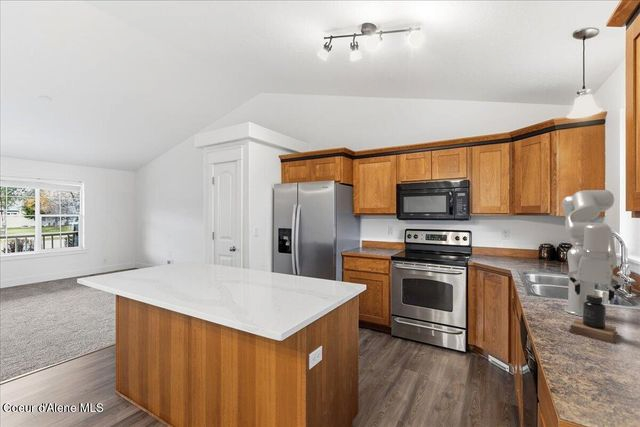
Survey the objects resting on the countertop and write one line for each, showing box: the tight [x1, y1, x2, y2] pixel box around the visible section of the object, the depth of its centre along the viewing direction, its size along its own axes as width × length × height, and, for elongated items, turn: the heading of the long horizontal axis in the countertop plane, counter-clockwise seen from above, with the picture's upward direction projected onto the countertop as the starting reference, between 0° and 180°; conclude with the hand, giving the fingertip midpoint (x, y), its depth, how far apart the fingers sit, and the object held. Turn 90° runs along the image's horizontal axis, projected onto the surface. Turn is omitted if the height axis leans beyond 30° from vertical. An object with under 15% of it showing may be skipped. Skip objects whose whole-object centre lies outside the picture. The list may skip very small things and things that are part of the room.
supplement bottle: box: [582, 294, 607, 329], centre depth 121 cm, size 7×7×12 cm
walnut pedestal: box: [568, 317, 618, 344], centre depth 121 cm, size 13×13×3 cm
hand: (593, 296), depth 122 cm, fingers open, 9 cm apart
